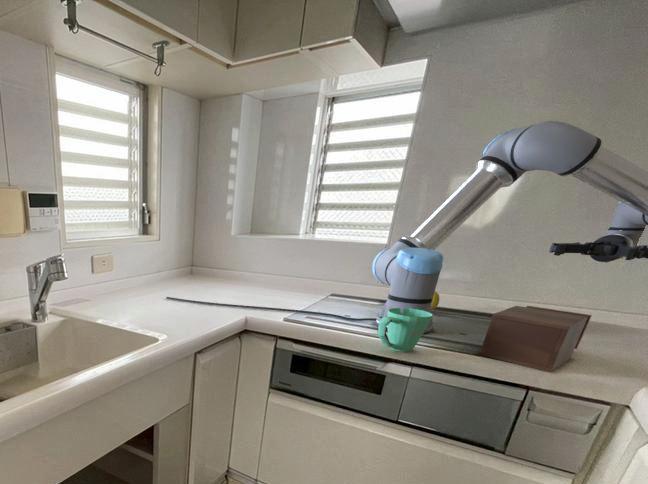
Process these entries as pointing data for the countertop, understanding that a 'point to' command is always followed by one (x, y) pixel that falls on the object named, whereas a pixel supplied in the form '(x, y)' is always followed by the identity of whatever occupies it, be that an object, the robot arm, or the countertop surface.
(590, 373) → the countertop surface
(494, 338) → the cabinet
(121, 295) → the countertop surface
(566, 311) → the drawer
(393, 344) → the mug
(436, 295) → the lemon
